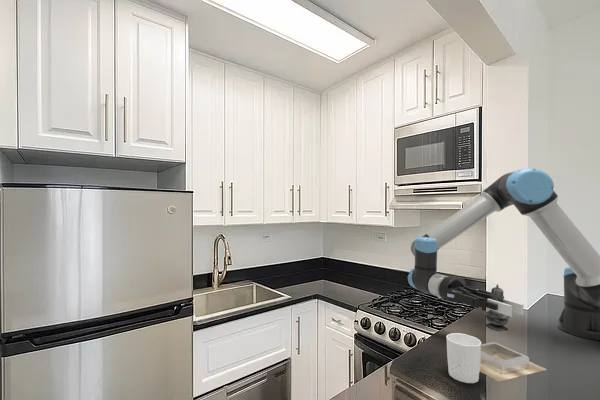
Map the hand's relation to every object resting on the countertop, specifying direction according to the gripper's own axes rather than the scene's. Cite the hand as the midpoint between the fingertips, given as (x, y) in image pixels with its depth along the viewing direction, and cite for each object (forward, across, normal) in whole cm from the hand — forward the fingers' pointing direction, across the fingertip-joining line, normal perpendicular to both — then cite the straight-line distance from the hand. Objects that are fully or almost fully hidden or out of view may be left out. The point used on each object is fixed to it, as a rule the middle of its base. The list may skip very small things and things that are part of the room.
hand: (516, 310), depth 82 cm
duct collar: (-5, 0, -16) cm, 17 cm away
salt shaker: (-6, 0, -7) cm, 9 cm away
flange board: (-5, 0, -17) cm, 18 cm away
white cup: (-3, +15, -17) cm, 23 cm away
